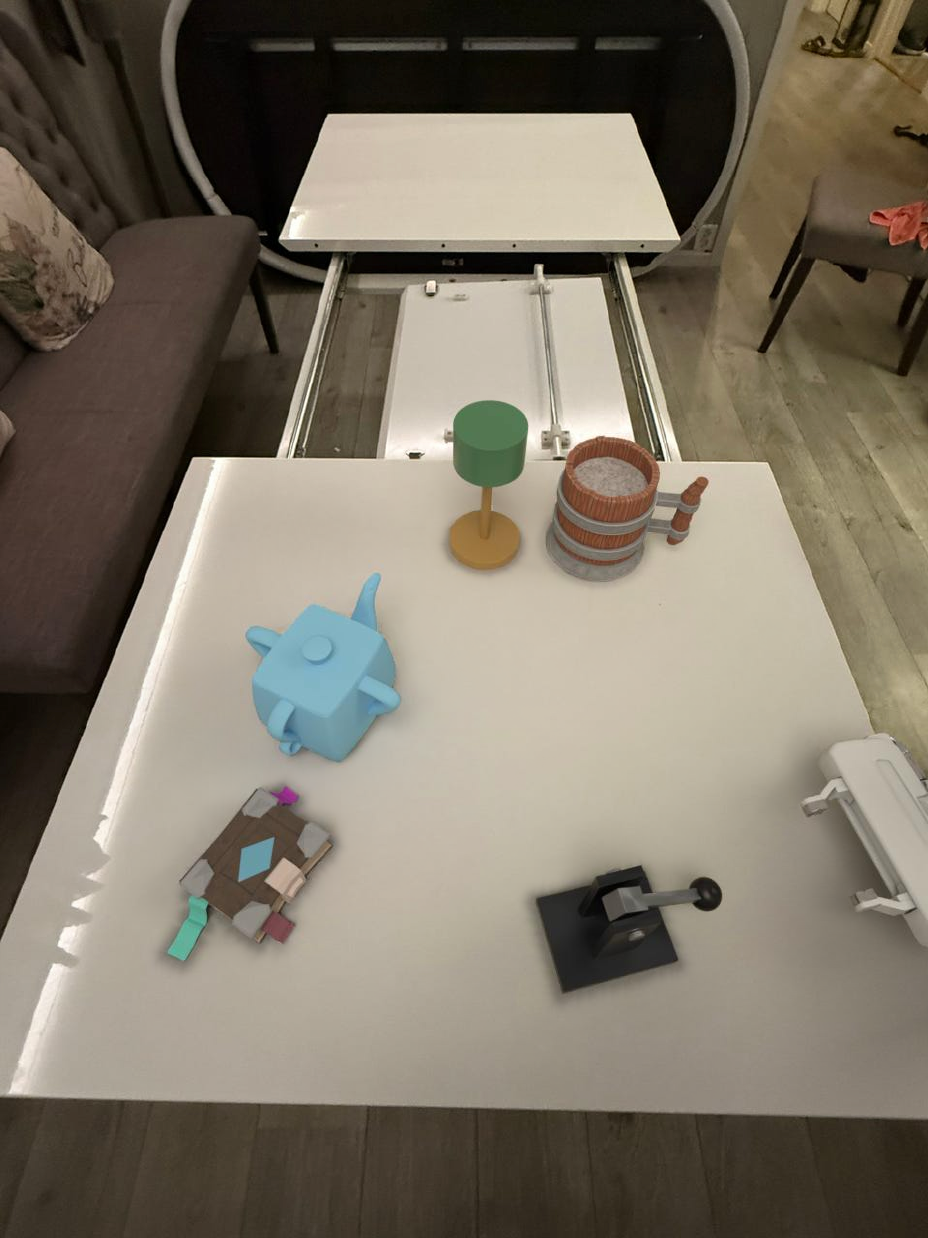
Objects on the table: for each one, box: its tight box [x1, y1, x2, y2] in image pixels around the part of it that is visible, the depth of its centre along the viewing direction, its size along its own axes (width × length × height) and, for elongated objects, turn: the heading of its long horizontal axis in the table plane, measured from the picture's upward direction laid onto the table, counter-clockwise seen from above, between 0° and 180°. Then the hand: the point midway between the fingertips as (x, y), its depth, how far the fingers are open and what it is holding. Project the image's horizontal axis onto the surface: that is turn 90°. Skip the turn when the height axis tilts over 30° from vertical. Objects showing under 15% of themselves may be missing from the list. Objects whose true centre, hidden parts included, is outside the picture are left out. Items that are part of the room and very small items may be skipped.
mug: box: [545, 435, 710, 582], centre depth 99 cm, size 14×19×15 cm
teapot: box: [245, 572, 402, 763], centre depth 84 cm, size 18×16×14 cm
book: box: [166, 785, 333, 962], centre depth 75 cm, size 20×12×5 cm, turn 148°
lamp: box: [448, 399, 529, 571], centre depth 96 cm, size 10×10×22 cm
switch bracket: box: [535, 864, 679, 995], centre depth 70 cm, size 12×9×13 cm
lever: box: [602, 876, 723, 922], centre depth 69 cm, size 14×3×3 cm, turn 104°
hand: (829, 854), depth 71 cm, fingers open, 8 cm apart
